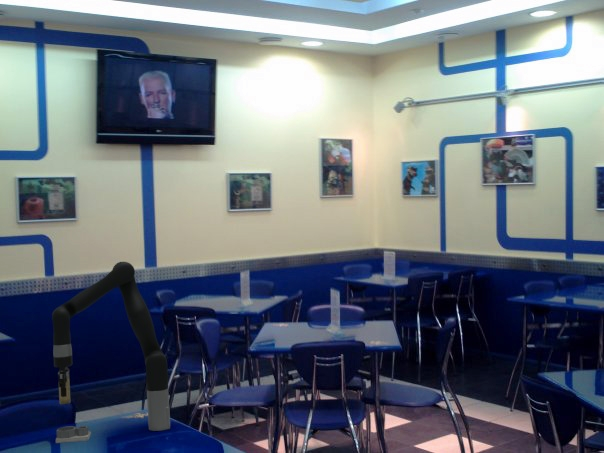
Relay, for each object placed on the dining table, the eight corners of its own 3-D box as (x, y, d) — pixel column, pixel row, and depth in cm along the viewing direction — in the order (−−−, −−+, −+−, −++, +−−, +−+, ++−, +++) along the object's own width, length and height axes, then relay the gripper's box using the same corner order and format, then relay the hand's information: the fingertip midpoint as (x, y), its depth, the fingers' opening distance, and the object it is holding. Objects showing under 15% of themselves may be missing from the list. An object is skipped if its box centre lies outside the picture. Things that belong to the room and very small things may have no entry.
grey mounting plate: (90, 434, 332) (90, 424, 332) (88, 440, 323) (87, 429, 323) (59, 437, 330) (58, 426, 330) (55, 443, 321) (55, 432, 321)
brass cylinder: (71, 401, 328) (70, 377, 328) (69, 403, 324) (68, 379, 324) (60, 402, 328) (59, 378, 327) (58, 404, 323) (57, 380, 323)
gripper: (69, 357, 319) (71, 398, 319) (74, 351, 333) (76, 391, 333) (50, 358, 318) (52, 399, 318) (56, 352, 332) (58, 392, 332)
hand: (64, 395), depth 326 cm, fingers closed on brass cylinder, 4 cm apart
